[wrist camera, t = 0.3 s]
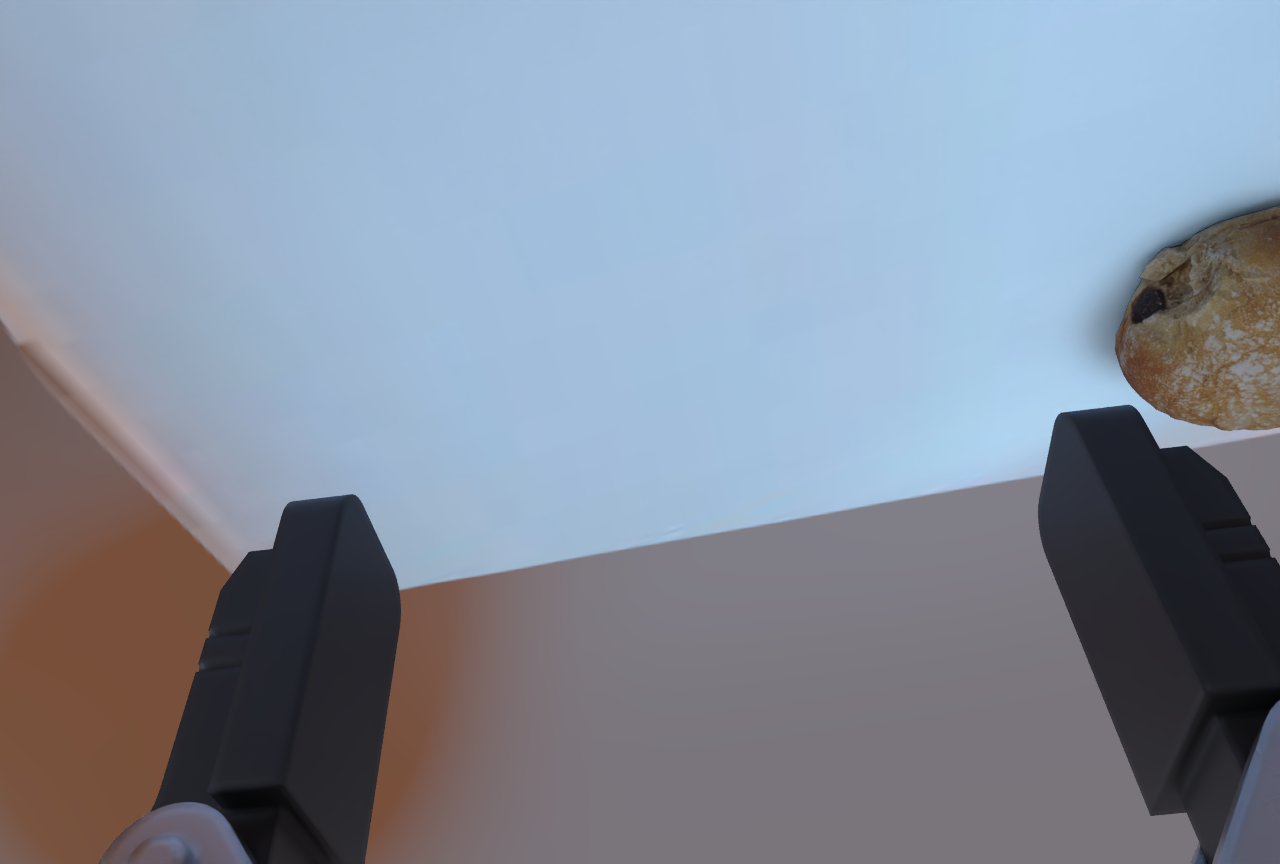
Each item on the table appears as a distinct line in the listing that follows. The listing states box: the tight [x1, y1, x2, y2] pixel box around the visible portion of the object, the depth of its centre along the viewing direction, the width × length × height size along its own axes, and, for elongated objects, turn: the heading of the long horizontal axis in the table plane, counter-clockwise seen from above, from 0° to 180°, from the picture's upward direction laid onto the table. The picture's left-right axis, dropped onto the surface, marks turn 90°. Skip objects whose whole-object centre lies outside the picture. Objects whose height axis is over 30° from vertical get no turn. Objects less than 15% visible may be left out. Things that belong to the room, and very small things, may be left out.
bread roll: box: [1115, 207, 1280, 431], centre depth 42 cm, size 10×10×8 cm
